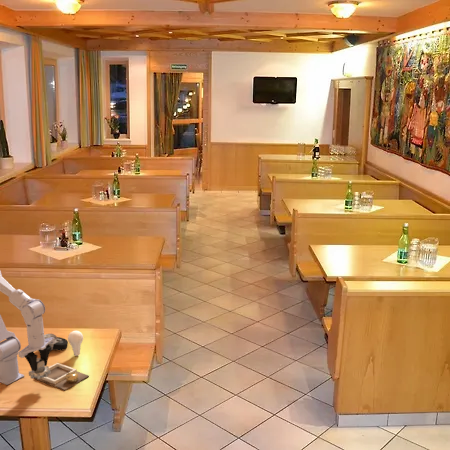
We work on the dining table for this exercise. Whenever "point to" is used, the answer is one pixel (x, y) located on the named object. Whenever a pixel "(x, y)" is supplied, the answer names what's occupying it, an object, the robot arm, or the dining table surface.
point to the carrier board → (62, 384)
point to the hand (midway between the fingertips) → (39, 367)
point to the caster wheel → (57, 342)
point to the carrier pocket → (61, 376)
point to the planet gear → (40, 370)
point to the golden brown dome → (72, 377)
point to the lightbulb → (75, 341)
